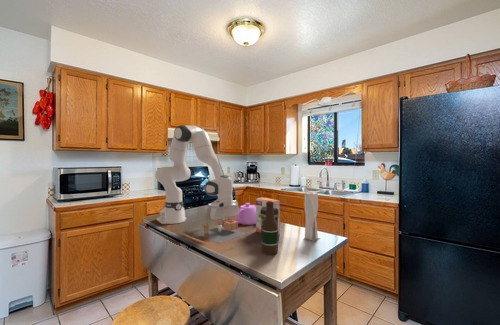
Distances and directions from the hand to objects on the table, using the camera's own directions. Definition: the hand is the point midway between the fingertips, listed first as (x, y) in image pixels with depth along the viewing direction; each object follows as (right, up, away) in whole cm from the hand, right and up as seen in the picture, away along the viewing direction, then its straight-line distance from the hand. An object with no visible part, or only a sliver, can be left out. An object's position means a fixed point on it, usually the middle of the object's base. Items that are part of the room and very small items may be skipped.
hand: (225, 224), depth 146 cm
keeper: (-10, -5, -10) cm, 15 cm away
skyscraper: (+49, -5, -13) cm, 51 cm away
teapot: (+16, -4, +17) cm, 23 cm away
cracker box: (+25, -5, -6) cm, 26 cm away
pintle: (-2, -4, -8) cm, 9 cm away
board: (-2, -4, -7) cm, 8 cm away
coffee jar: (+26, -5, -17) cm, 31 cm away
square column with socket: (0, -1, 0) cm, 1 cm away
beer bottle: (+25, -5, -32) cm, 40 cm away
